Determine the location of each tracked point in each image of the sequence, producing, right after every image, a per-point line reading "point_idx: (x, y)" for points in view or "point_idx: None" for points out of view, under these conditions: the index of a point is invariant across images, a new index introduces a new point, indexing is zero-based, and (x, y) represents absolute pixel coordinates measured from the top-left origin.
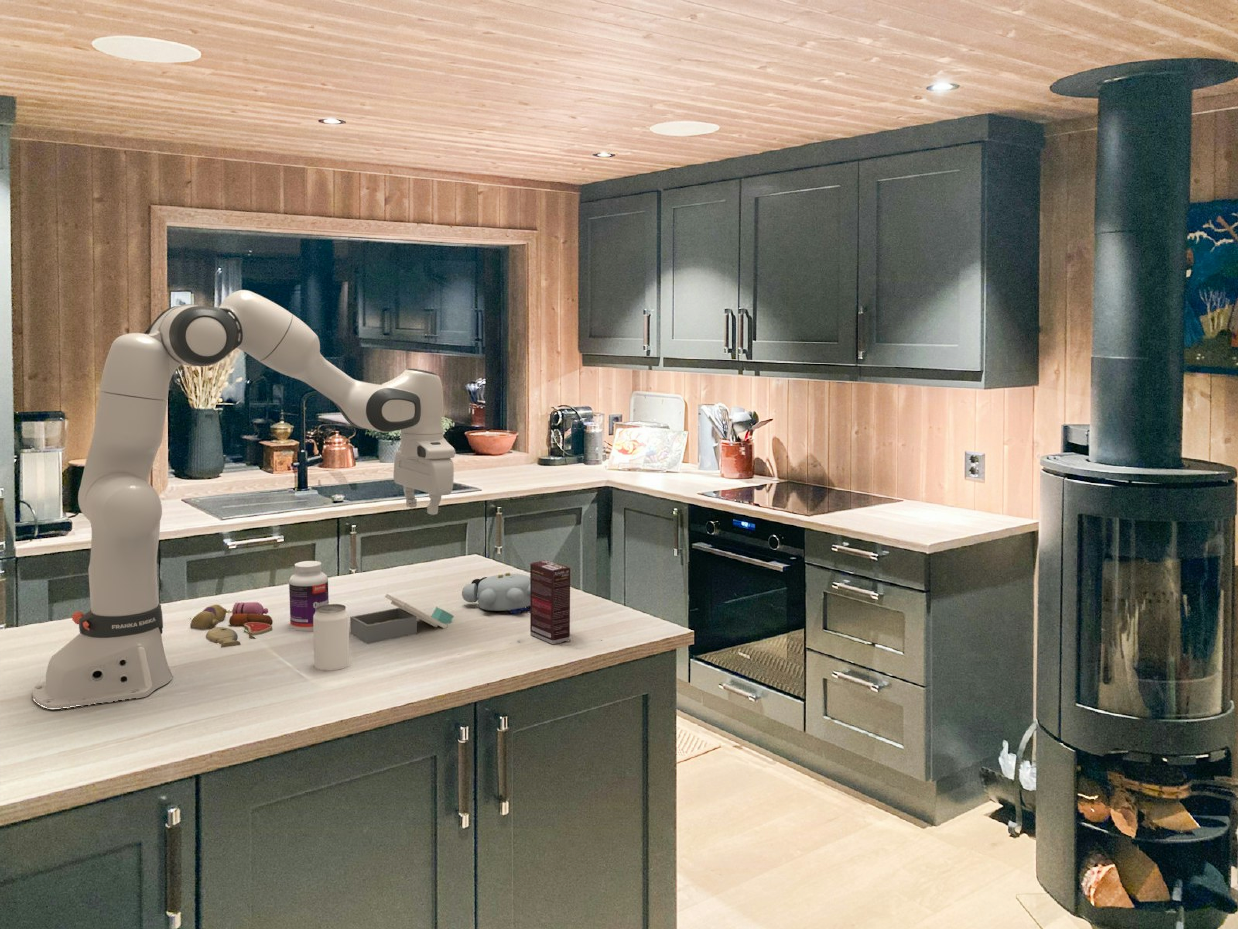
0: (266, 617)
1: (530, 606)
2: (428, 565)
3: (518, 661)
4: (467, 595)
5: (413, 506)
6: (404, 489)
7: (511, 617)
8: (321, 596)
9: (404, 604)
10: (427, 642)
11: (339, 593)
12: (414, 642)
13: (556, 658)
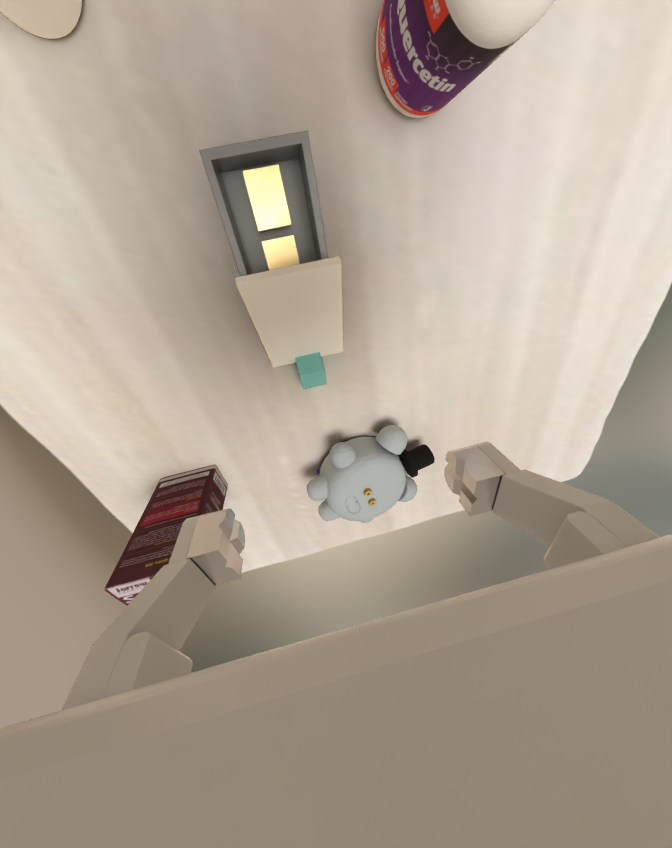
0: None
1: (205, 496)
2: (596, 422)
3: (78, 423)
4: (383, 432)
5: (449, 470)
6: (601, 515)
7: (308, 461)
8: (416, 11)
9: (235, 280)
10: (218, 313)
11: (597, 239)
12: (225, 289)
13: (92, 470)
